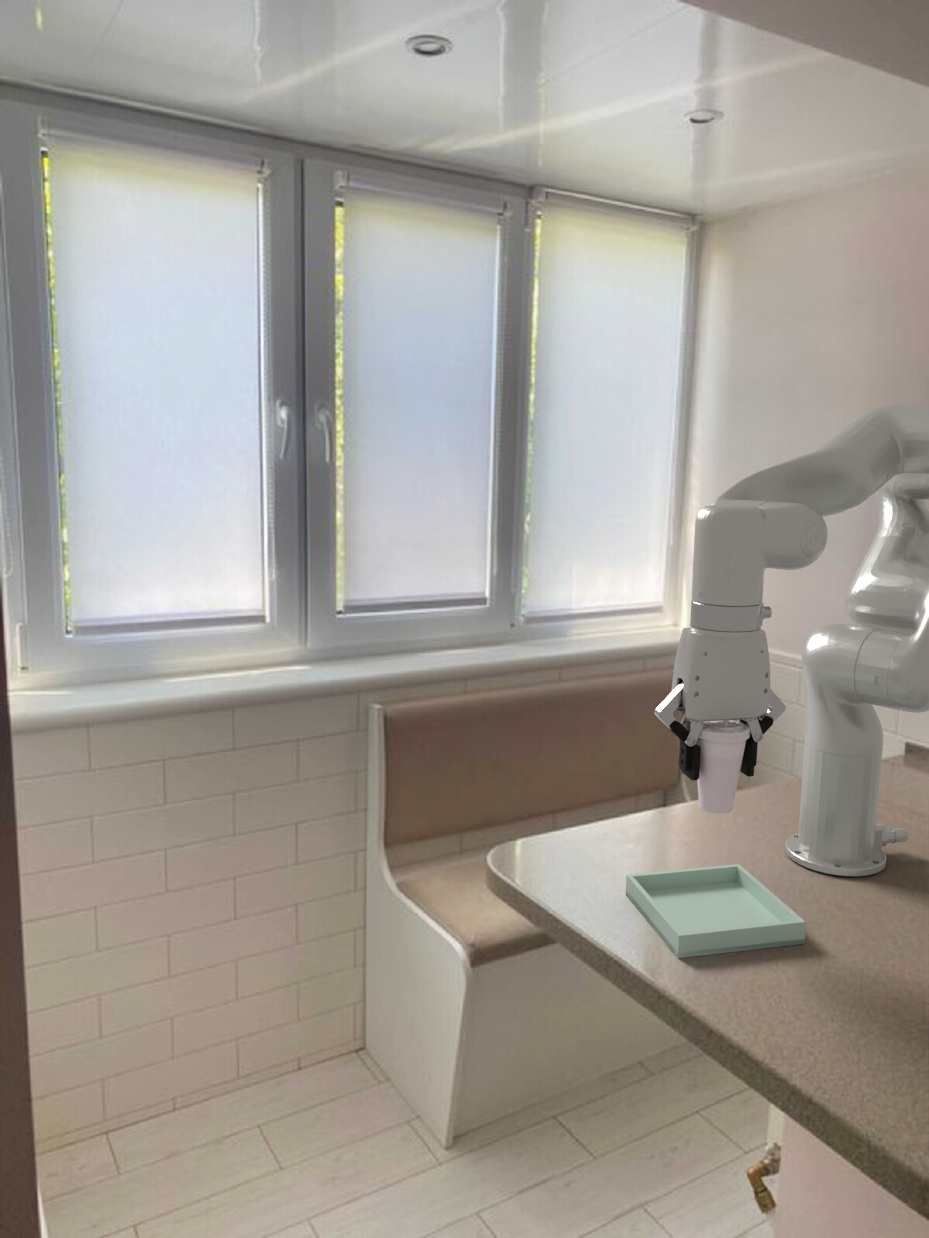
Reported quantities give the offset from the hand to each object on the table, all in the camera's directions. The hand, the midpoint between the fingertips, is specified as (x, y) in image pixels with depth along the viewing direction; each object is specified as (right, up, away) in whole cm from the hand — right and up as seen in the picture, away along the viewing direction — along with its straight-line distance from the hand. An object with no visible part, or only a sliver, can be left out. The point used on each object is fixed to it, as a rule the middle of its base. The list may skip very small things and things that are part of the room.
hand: (717, 773), depth 106 cm
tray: (0, -17, +3) cm, 18 cm away
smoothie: (0, -4, +1) cm, 4 cm away
